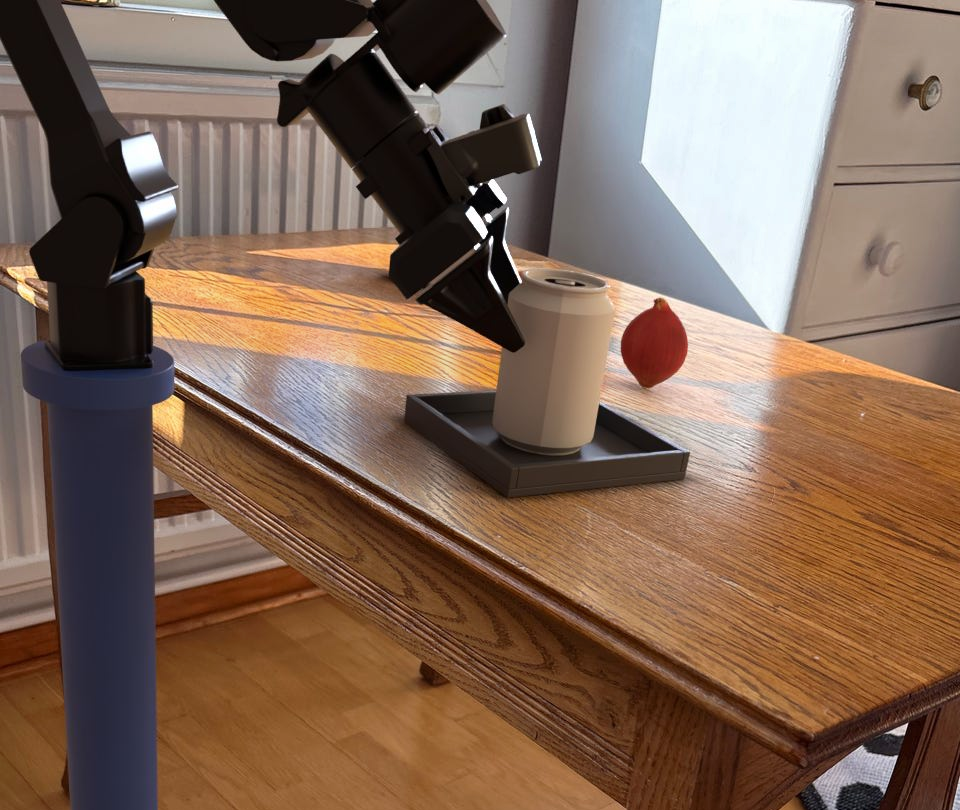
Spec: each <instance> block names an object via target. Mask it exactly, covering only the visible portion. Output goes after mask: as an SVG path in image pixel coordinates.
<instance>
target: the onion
mask: <svg viewBox="0 0 960 810" xmlns="http://www.w3.org/2000/svg"><path fill="white" fill-rule="evenodd" d="M688 350H689V341H688V335H687V331H686V328H685V326H684V324H683V321H682V320H681V319H680V317H679V316H678V314H677V313H676V312H675V311H673V309H672V308H671V307H670V304H669V302H668V301H667V299H665V298H664V297H660V296H659V297H657V298H655V299H653V306H652V307H650V308H647V309H645V310H643V311H642V312H641V313H639V314H637V315H636V316H635V317H634V318H633V319H632V320H631V321H630V322H629V323H628V324H627V325H626V327H625V329H624V331H623V333H622V336H621V339H620V354H621V358H622V361H623V364H624V366H625V367H626V369H627V370H628V372H629V373H630V374H631V375H632V376H633V377H634V379H635V380H636V381H637V383H638V385H639V386H640V387H641V388H644V389H647V390H648V389H651V388H653V387H655V386H657V385H659V384H662V383H664V382H666V381H667V380H669V379H671V378H672V377H673V376H674V375H676V373H678V371H679V370H680V369H681V368H682V367H683V365H684V364H685V361H686V359H687V356H688Z"/></svg>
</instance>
